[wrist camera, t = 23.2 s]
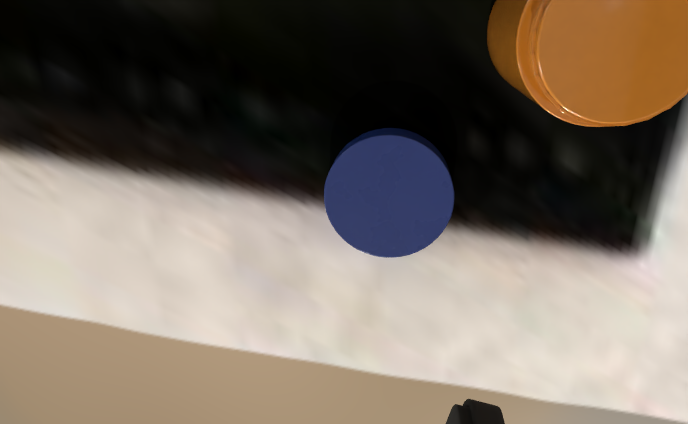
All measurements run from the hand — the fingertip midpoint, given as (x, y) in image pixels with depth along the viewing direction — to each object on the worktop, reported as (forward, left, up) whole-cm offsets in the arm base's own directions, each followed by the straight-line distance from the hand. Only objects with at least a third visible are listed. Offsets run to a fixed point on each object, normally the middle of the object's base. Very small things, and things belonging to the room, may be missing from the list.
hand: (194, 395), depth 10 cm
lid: (+3, -2, -20) cm, 20 cm away
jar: (+9, +8, -21) cm, 24 cm away
